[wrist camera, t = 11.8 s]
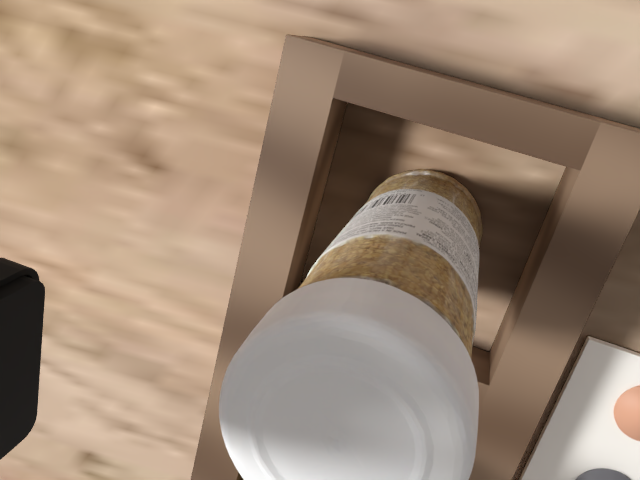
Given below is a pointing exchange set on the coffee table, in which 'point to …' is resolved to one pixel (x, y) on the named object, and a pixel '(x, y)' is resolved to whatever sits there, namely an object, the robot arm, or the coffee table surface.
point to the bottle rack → (469, 121)
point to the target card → (593, 420)
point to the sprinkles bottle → (368, 349)
